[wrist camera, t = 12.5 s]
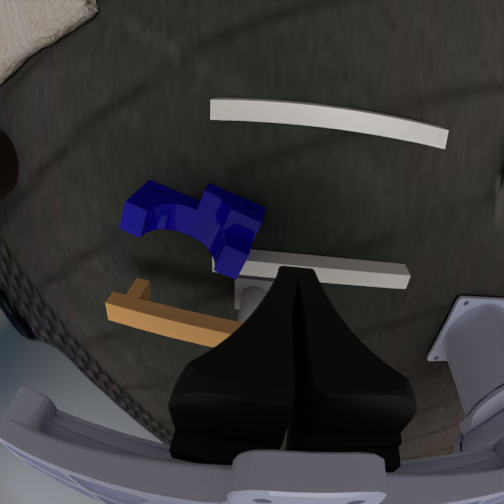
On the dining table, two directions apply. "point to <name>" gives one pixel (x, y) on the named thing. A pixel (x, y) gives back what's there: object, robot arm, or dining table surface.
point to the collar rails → (319, 115)
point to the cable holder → (198, 221)
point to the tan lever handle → (176, 315)
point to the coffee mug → (7, 165)
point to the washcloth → (36, 27)
